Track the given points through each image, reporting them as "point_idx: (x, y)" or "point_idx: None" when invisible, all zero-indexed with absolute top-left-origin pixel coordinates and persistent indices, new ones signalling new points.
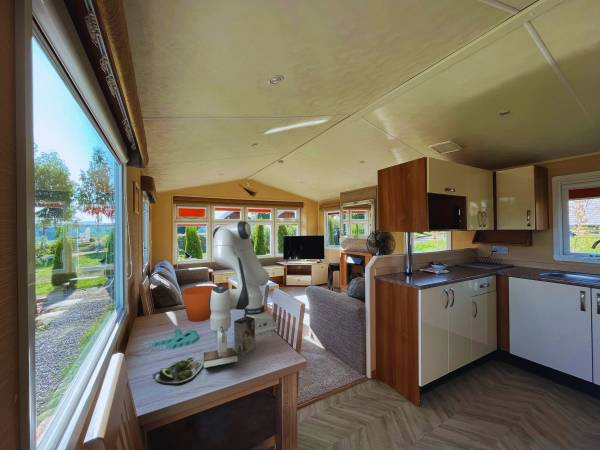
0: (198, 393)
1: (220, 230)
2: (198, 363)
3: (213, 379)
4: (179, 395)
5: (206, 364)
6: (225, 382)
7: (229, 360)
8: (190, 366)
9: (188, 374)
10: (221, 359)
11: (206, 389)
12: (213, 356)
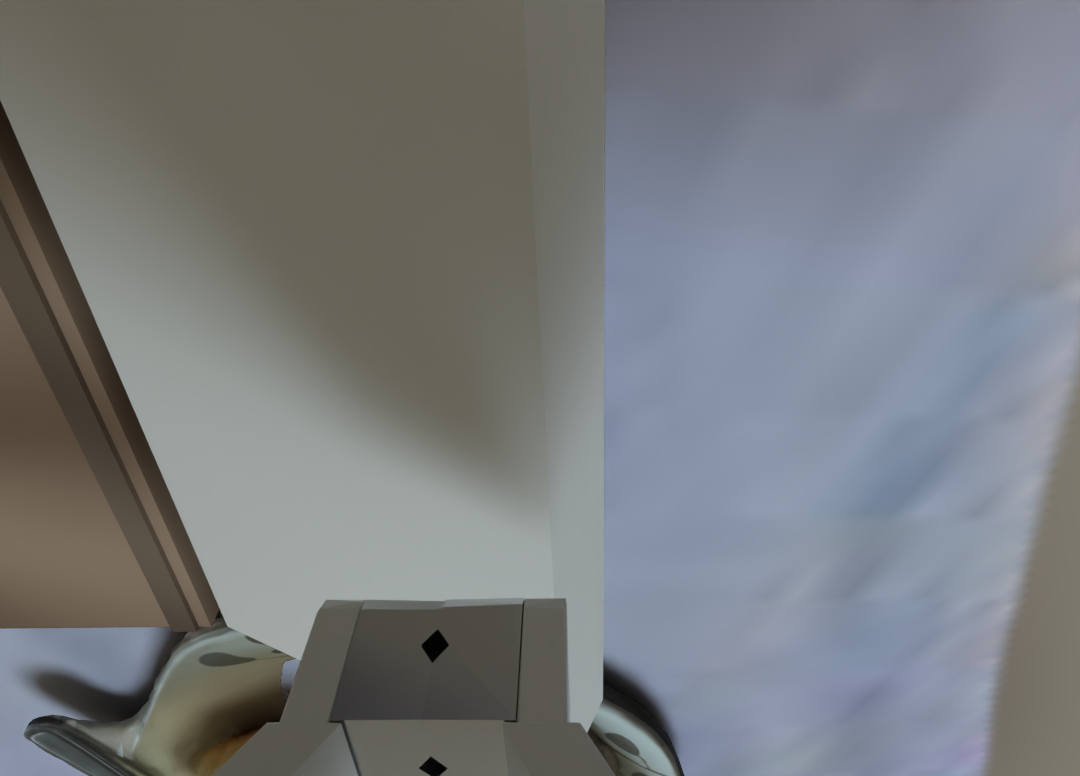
0: (987, 614)
1: None
2: (215, 655)
3: (738, 449)
4: (878, 752)
5: (584, 717)
6: (973, 265)
7: (582, 266)
8: (248, 702)
9: None
10: (552, 510)
11: (964, 537)
12: (7, 494)
